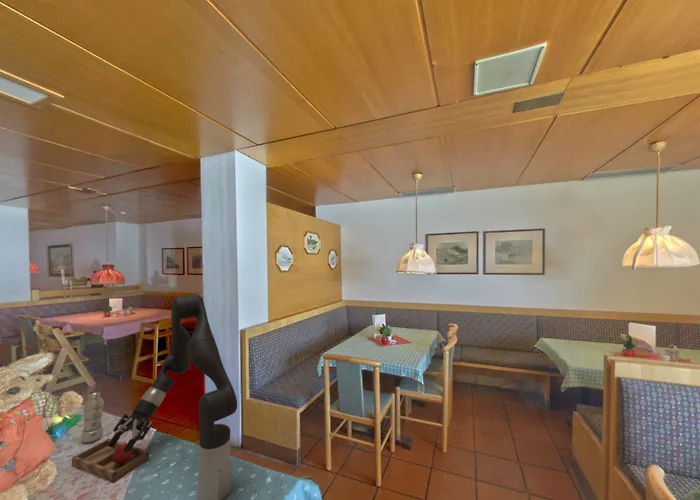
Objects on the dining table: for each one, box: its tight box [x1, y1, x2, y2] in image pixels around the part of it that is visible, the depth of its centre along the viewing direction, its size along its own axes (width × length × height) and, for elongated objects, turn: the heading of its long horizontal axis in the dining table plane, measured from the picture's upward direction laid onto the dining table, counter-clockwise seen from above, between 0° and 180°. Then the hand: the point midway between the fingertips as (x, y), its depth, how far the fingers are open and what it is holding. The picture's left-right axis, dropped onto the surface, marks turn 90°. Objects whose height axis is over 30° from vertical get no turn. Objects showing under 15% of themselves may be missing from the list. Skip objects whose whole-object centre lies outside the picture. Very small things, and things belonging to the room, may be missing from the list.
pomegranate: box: [112, 441, 133, 464], centre depth 104 cm, size 6×6×8 cm
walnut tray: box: [71, 438, 150, 483], centre depth 105 cm, size 23×12×3 cm, turn 71°
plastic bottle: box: [80, 389, 105, 444], centre depth 118 cm, size 6×7×20 cm
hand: (117, 449), depth 102 cm, fingers open, 8 cm apart
